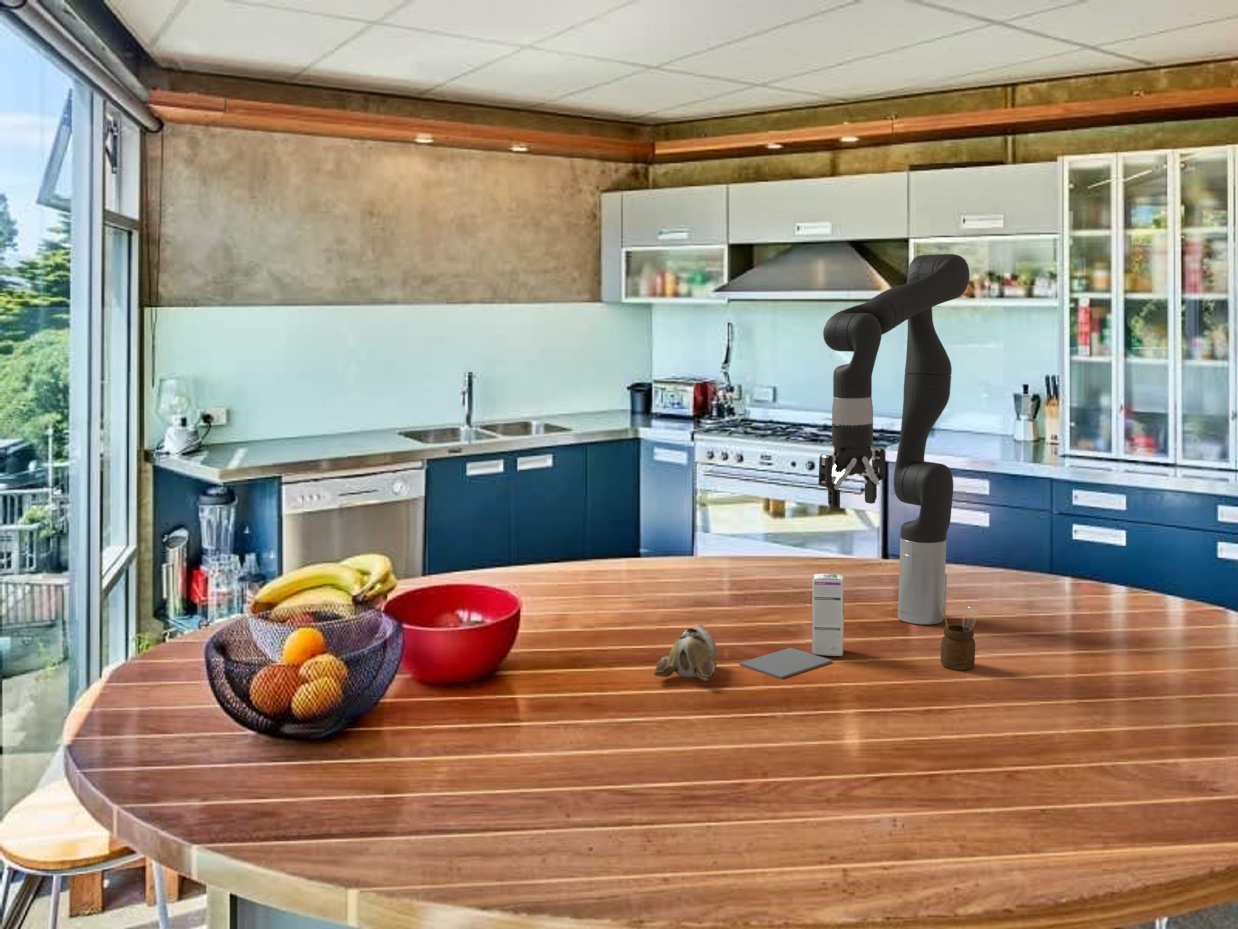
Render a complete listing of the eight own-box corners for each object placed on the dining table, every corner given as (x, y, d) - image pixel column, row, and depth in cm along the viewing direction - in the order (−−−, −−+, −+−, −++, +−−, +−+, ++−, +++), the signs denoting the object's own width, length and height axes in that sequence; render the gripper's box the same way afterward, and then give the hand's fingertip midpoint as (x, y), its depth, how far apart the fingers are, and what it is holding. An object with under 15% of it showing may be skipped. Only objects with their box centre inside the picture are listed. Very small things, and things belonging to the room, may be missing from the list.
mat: (790, 649, 204) (790, 647, 204) (832, 662, 197) (832, 660, 197) (739, 665, 196) (739, 662, 195) (781, 678, 188) (781, 676, 188)
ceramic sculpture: (729, 618, 195) (710, 646, 181) (729, 663, 196) (711, 695, 182) (672, 614, 198) (649, 642, 184) (673, 658, 199) (651, 689, 186)
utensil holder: (976, 672, 191) (979, 606, 189) (940, 670, 192) (942, 605, 191) (972, 661, 197) (975, 598, 195) (937, 659, 198) (939, 596, 196)
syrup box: (843, 656, 199) (845, 578, 198) (810, 654, 200) (812, 577, 199) (842, 649, 204) (844, 574, 203) (811, 647, 205) (813, 572, 205)
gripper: (868, 416, 207) (868, 498, 210) (809, 422, 201) (810, 507, 203) (895, 419, 201) (894, 504, 203) (835, 426, 194) (835, 513, 197)
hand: (852, 505), depth 203 cm, fingers open, 8 cm apart
